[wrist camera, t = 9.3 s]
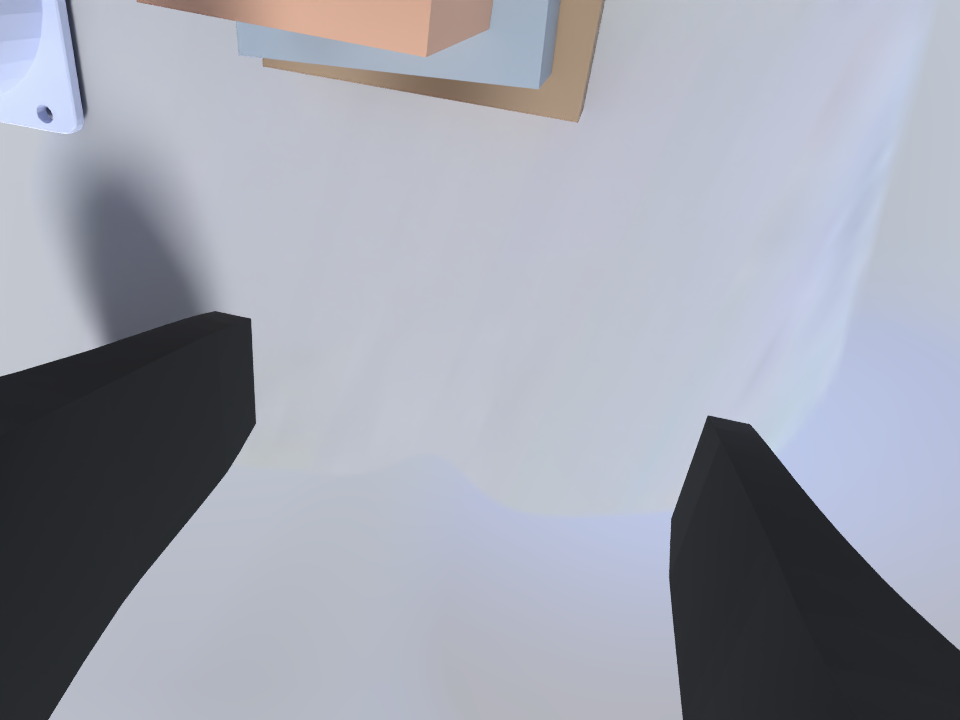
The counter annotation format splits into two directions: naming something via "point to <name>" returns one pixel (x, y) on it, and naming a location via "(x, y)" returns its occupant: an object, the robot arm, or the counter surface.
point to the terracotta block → (357, 19)
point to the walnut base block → (552, 99)
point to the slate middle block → (482, 58)
